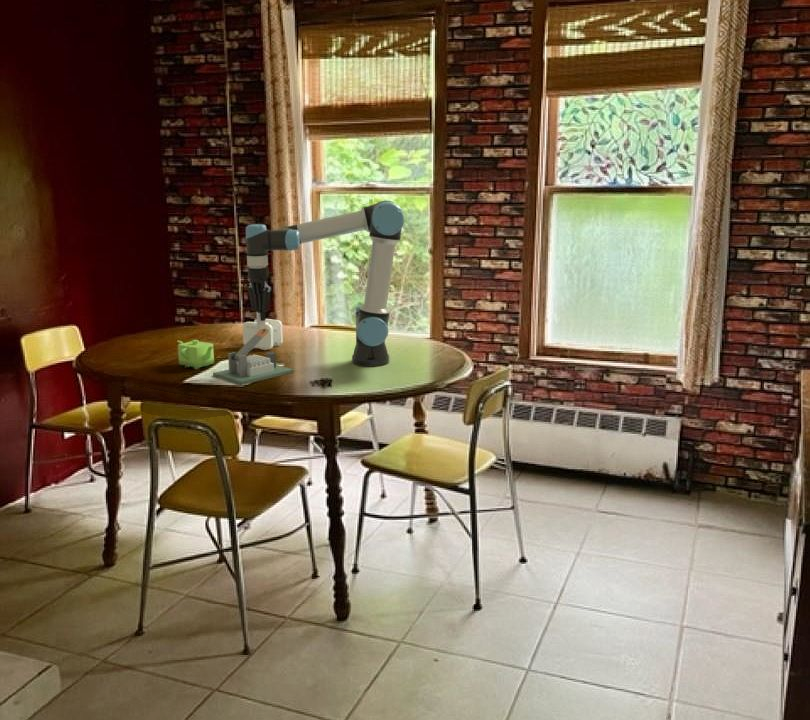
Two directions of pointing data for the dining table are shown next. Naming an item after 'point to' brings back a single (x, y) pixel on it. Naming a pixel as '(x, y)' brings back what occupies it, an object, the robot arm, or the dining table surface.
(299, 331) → the dining table surface
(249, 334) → the cable organizer
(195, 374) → the dining table surface
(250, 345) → the orange-tipped flat strip
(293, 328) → the dining table surface
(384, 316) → the robot arm
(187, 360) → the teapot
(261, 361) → the heatsink board
